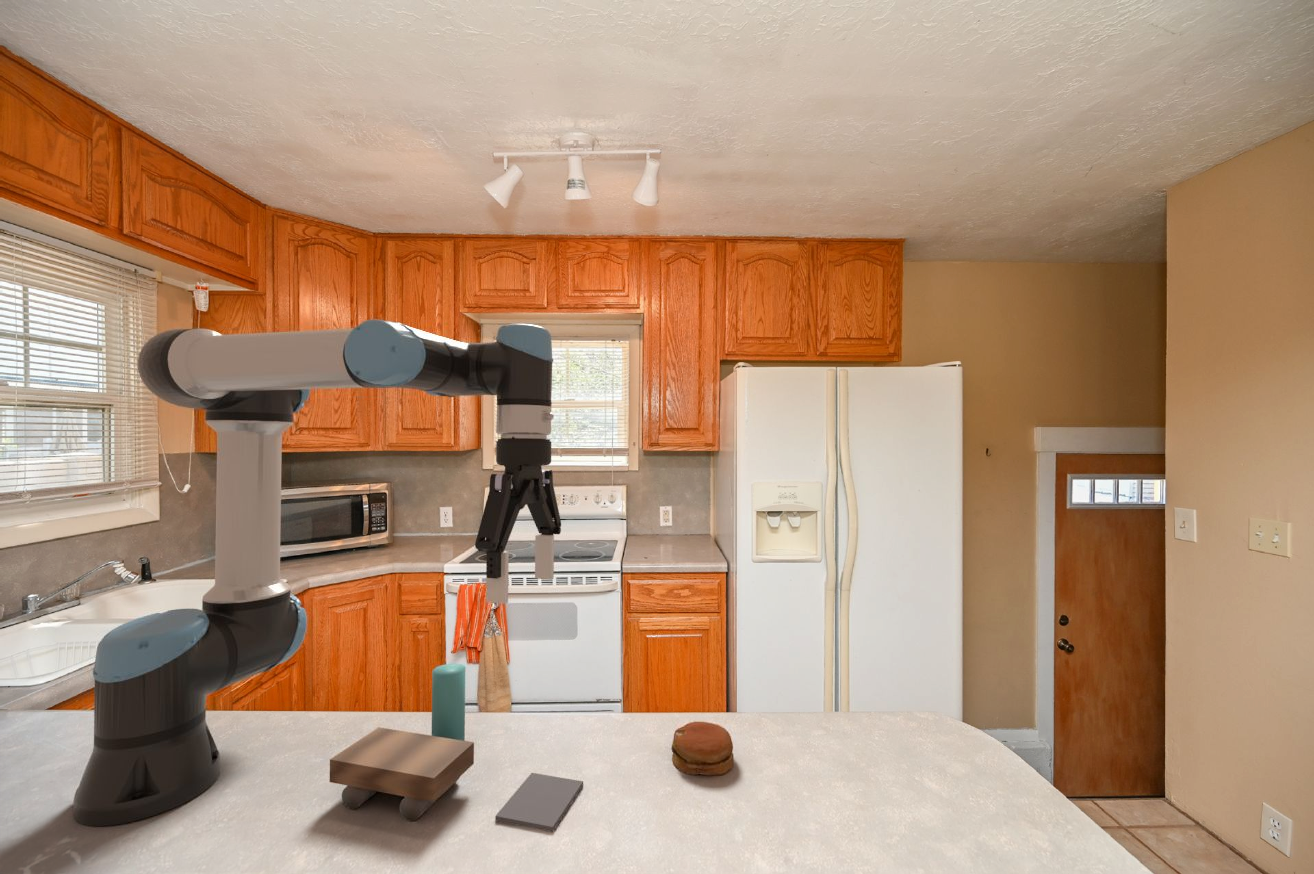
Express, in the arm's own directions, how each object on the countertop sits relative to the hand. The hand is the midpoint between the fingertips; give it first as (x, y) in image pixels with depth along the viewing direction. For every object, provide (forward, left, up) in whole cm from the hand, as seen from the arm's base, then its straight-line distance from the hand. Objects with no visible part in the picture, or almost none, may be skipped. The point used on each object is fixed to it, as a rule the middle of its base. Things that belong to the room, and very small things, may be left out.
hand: (522, 589), depth 80 cm
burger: (+23, +15, -28) cm, 39 cm away
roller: (-17, +8, -28) cm, 34 cm away
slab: (-15, -5, -28) cm, 32 cm away
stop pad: (+4, -1, -28) cm, 28 cm away
